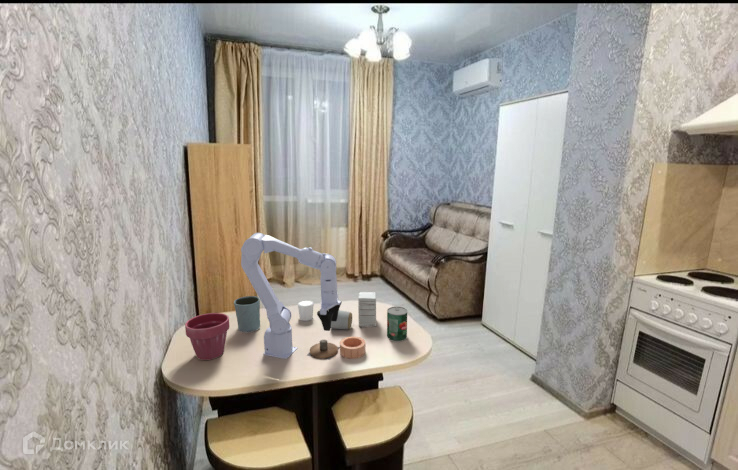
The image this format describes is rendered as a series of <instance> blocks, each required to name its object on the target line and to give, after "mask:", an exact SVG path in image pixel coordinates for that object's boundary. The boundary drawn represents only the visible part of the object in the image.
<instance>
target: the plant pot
mask: <svg viewBox="0 0 738 470" xmlns="http://www.w3.org/2000/svg"><path fill="white" fill-rule="evenodd" d="M184 325H185V326H184V328H185V335H186V337H187V338H189V340H190V343H191V346H192V348H193V351H194V353H195V357H196V358H197V359H198V360H202V361H209V360H214V358H215V359H217V358H219V357H221V356H222V355H223V354H224V353H223V352H225V347H226V341H227V333H228V331H229V329H230V318H229V315H227V314H225V313H220V312H211V313H210V312H209V313H204V314H200V315H199V314H198V315H196V316H194V317H191V318H190V319H188V320H187V321H186V322H185V323H184ZM220 355H221V356H220Z"/></svg>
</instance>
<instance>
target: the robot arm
mask: <svg viewBox="0 0 738 470" xmlns="http://www.w3.org/2000/svg"><path fill="white" fill-rule="evenodd" d="M240 252H241V256H240V257H241V260H240V265H241V266H240V267H241V268H242V270H243V272H244V273H245V275H246V277H247V279H248V280H249V282H250V284H251V286H252V287H253V289H254V290H255V293H256V294H257V297H258V298H260V302H261V303H262V305H263V306H264V309H265V310H266V316H267V317H266V318H267V320H268V322H269V327H267V328H266V329H265V331H264V335H263V345H264V346H263V347H264V352H263V356H264V355H265V356H268V357H274V358H279V359H284V360H287V359H288V358H289V357H290V356H291V355H292V354H294V353H295V351H296V350H298V347H297V346H293V328H292V325H291V324H290V323H291V322H290V321H291V319H292V312H291V310H290V309H289V308H288V307H286V306H285V304H284V303H283V302H282V301H280V300H279V298H278V296H277V295H276V292H275V291H274V289H273V287H272V286H271V284H270V282H269V281H268V279H267V277H266V275H265V273H264V271H263V270H262V267H261V266H260V264H259V260H260V258H261V255H262V253H264V254H268V253H272V252H277V253H279V254H283V255H286V256H289V257H292V258H295V259H297V261H298V263H300V264H302V265H303V266H306V267H310V268H312V269H315V270H319V272H320V278H319V279H320V281H319V282H320V283H319V284H320V297H321V298H320V299H321V300H320V308H319V310H318V311H317V312H316V315H317V317H318V318H319V320H320V322H321V326H322V328H323V330H324V332H325V331H327V332H330V331H331V329H332V328H331V321H337V317H338V311H339V310H340V307H341V305H342V301H341V300H339V294H338V282H337V281H338V276H337V260H336V258H335V257H334V255H332V254H330V253H326V252H322V253H321V252H319V251H317V250H314V249H313V247H310V246H309V247H303V248H299V247H296V246H294V245H292V244H289V243H287V242H285V241H283V240H280V239H278V238H276V237H273V236H271V235H268V234H264V233H261V232H255V233H253V234H252V235H251V236H250V237H249V238H247V239H246V240H245V241H244V242H243V244H242V246H241V249H240Z"/></svg>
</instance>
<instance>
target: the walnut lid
mask: <svg viewBox="0 0 738 470" xmlns="http://www.w3.org/2000/svg"><path fill="white" fill-rule="evenodd" d="M337 347H338V346H337V344H334V343H332V342H328V340H327V339H321V340H320V341H319V342H318V343H315V344H313V345H311V347H310V348H309V352H310V354H311V356H310V357H313V358H316V359H320V360H321V359H323V358H329V357H332V356H333V357H334V356H335V355H337V354H338V352H339V349H338V348H337ZM333 357H332V358H333ZM323 360H324V359H323Z"/></svg>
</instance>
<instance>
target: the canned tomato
mask: <svg viewBox="0 0 738 470" xmlns="http://www.w3.org/2000/svg"><path fill="white" fill-rule="evenodd" d="M408 313H409V311H408V309H407V308H405V307H402V306H391V307H388V308H387V310H386V338H387V339H389V341H392V342H403V341H406V340H407V337H408Z"/></svg>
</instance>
